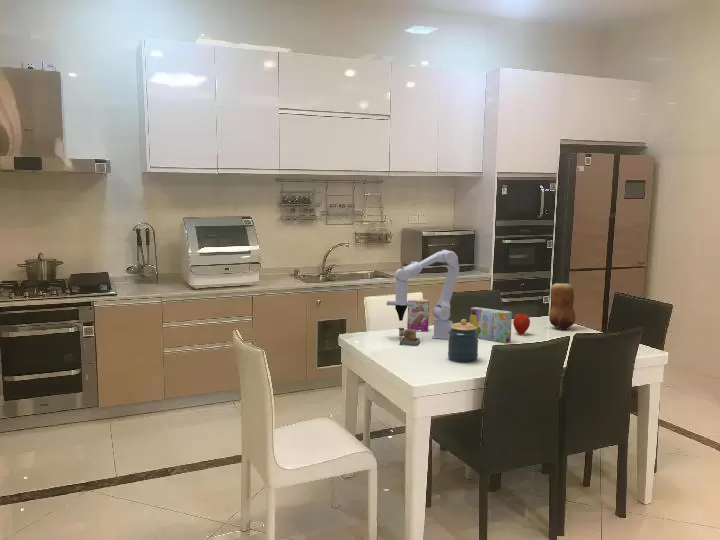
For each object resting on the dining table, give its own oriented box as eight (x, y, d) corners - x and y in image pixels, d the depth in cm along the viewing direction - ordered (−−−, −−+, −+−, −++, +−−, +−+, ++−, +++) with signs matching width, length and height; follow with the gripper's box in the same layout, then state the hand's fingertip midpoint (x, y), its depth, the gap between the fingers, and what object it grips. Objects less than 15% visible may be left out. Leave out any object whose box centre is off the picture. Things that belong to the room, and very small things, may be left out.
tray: (420, 342, 298) (420, 338, 298) (417, 345, 291) (417, 341, 290) (402, 341, 300) (403, 337, 300) (399, 344, 293) (399, 340, 293)
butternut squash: (560, 325, 341) (562, 280, 339) (580, 329, 330) (582, 283, 327) (542, 327, 334) (544, 282, 331) (562, 332, 323) (564, 285, 320)
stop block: (415, 341, 297) (415, 329, 296) (414, 343, 293) (414, 331, 292) (405, 341, 298) (405, 328, 298) (403, 343, 294) (403, 330, 293)
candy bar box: (407, 331, 323) (407, 300, 322) (407, 329, 328) (407, 299, 327) (428, 331, 322) (429, 301, 321) (428, 329, 327) (429, 299, 326)
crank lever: (415, 336, 308) (415, 328, 307) (413, 337, 305) (413, 329, 304) (399, 335, 310) (399, 327, 310) (397, 336, 307) (397, 328, 306)
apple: (525, 336, 311) (526, 316, 310) (509, 334, 317) (510, 314, 315) (532, 334, 318) (532, 313, 317) (516, 331, 323) (517, 311, 322)
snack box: (511, 341, 301) (512, 311, 299) (505, 343, 297) (506, 313, 295) (474, 335, 315) (475, 306, 313) (468, 336, 311) (469, 307, 309)
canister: (442, 356, 270) (443, 317, 268) (467, 354, 276) (468, 315, 274) (458, 364, 259) (459, 323, 257) (483, 361, 264) (485, 320, 262)
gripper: (417, 292, 304) (417, 319, 305) (389, 291, 308) (389, 318, 310) (414, 294, 297) (413, 322, 299) (385, 293, 302) (385, 320, 303)
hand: (401, 320), depth 304 cm, fingers closed
